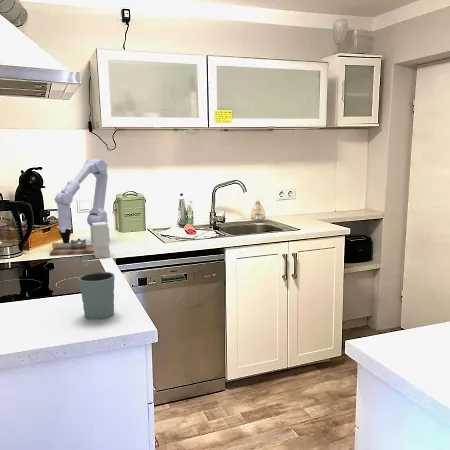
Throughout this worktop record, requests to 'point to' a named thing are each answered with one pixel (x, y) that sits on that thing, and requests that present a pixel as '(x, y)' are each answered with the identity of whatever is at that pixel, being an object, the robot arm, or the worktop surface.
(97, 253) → the skincare box
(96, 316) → the grey-green cup
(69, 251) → the walnut board
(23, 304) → the worktop surface
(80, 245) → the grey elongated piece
